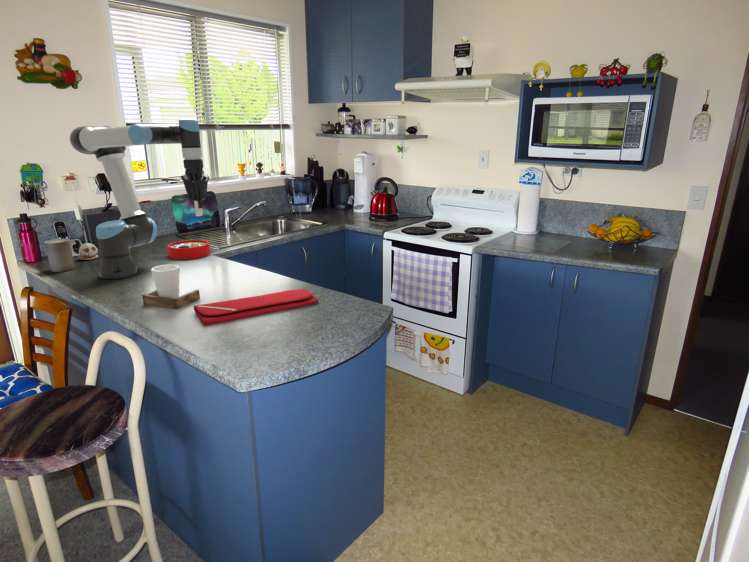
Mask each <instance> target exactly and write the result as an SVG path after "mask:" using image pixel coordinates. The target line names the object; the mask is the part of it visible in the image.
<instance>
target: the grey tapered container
mask: <svg viewBox="0 0 749 562" xmlns="http://www.w3.org/2000/svg"><path fill="white" fill-rule="evenodd" d="M44 246H45V250H46V254H47V255H46V256H47V260H48V263H49V267H50V271H51V272H54V273H62V272H68V271H71V270H75V268H76V265H75V261H74V256H73V251H72V247H71V246H72V245H71V243H70V239H69V238H53V239H49V240H45V241H44Z"/></svg>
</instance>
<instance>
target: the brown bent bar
mask: <svg viewBox="0 0 749 562" xmlns="http://www.w3.org/2000/svg"><path fill="white" fill-rule="evenodd" d="M141 296H142V304H143V305H144V306H145V305H146V306H153V307H159V308H160V307H161V308H166V309H174V310H178V309H181V308H182V307H185V306H187V305H189V304H191V303H194V302H195V301H196V302H197V301H198V300H201V294H200V289H194V290H192V291H189V292H188V293H186V294H183V295H179V297H178V298H176V299H175V298H168V297H160V296H159V295H158V292H157V289H155V290H153V291H149V292H147V293H145V294H143V295H141Z"/></svg>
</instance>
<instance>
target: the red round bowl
mask: <svg viewBox="0 0 749 562" xmlns="http://www.w3.org/2000/svg"><path fill="white" fill-rule="evenodd" d="M167 251H168V252H167V253H168V258H169V259H172V260H194V259H199V258H204V257H207V256H209V255H210V253H211V251H210V242H209V241H208V240H203V239H188V240H187V239H185V240H179V241H175V242H171V243H169V244H168V245H167Z"/></svg>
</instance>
